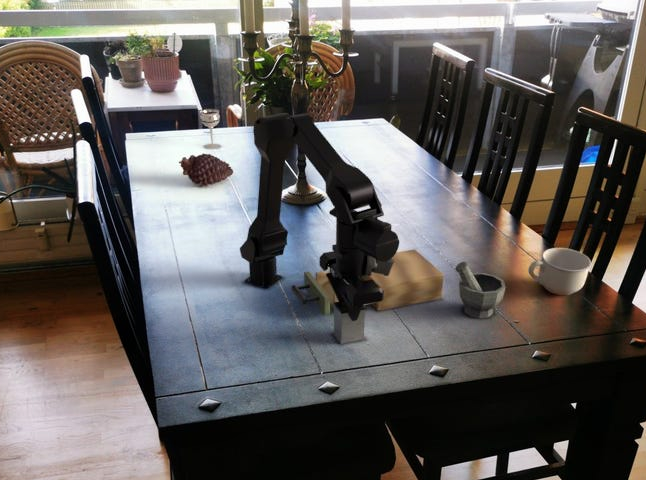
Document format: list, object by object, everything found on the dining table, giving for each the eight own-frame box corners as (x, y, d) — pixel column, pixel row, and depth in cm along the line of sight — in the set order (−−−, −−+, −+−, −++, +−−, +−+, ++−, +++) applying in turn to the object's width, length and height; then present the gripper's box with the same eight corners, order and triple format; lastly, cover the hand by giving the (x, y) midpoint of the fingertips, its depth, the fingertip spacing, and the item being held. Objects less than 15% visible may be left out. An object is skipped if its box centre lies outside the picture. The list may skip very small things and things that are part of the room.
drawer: (306, 319, 153) (306, 301, 151) (287, 292, 163) (286, 274, 161) (386, 304, 159) (387, 286, 157) (363, 279, 169) (363, 262, 167)
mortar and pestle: (491, 298, 164) (498, 249, 157) (508, 319, 156) (516, 268, 149) (443, 303, 162) (449, 253, 155) (458, 324, 154) (465, 273, 147)
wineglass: (226, 145, 257) (223, 110, 250) (213, 150, 252) (210, 115, 245) (211, 142, 260) (208, 108, 253) (198, 147, 255) (195, 112, 248)
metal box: (340, 344, 147) (341, 308, 142) (333, 334, 150) (333, 299, 145) (364, 339, 148) (365, 304, 144) (356, 329, 152) (357, 294, 147)
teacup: (575, 278, 173) (582, 247, 168) (590, 300, 164) (598, 268, 159) (517, 278, 172) (522, 247, 168) (529, 300, 163) (535, 268, 159)
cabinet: (378, 310, 158) (379, 285, 155) (352, 283, 169) (353, 259, 166) (441, 298, 163) (443, 274, 160) (412, 272, 174) (414, 249, 171)
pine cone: (223, 172, 233) (235, 149, 225) (231, 196, 229) (243, 173, 221) (170, 166, 223) (181, 142, 215) (178, 191, 218) (189, 167, 211)
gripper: (411, 256, 133) (406, 329, 142) (369, 219, 147) (367, 287, 156) (355, 265, 130) (353, 340, 138) (318, 226, 144) (318, 296, 153)
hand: (349, 314), depth 146 cm, fingers open, 5 cm apart
